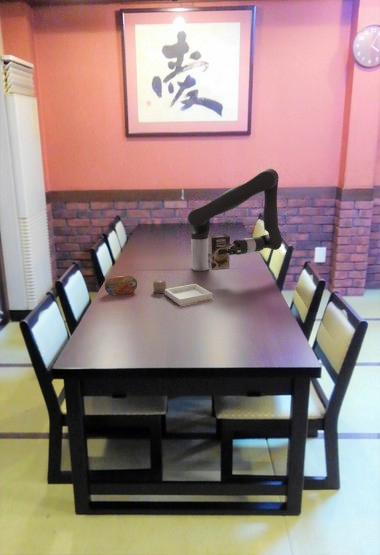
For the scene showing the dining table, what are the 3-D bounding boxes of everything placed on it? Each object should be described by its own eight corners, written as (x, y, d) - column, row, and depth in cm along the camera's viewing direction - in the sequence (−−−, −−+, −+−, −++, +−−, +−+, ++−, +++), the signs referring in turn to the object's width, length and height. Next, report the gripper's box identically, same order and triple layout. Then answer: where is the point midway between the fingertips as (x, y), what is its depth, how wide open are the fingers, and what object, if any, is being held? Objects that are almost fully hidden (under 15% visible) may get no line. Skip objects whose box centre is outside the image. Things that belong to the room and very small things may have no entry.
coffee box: (211, 270, 223) (211, 237, 218) (207, 267, 229) (207, 234, 224) (230, 269, 225) (230, 236, 220) (225, 265, 231) (225, 233, 226)
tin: (105, 296, 219) (104, 278, 217) (105, 294, 222) (103, 277, 219) (137, 292, 223) (136, 275, 220) (136, 290, 226) (135, 273, 223)
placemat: (165, 294, 218) (165, 293, 218) (193, 289, 224) (193, 288, 224) (181, 306, 203) (181, 305, 203) (212, 300, 209) (212, 299, 209)
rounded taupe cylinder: (151, 291, 223) (150, 281, 222) (162, 289, 226) (162, 279, 225) (157, 294, 218) (156, 284, 217) (168, 292, 221) (168, 281, 220)
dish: (164, 294, 217) (164, 289, 216) (195, 288, 224) (195, 283, 223) (179, 305, 203) (179, 299, 203) (211, 298, 210) (211, 293, 209)
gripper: (236, 235, 235) (207, 239, 228) (252, 241, 223) (222, 246, 216) (236, 250, 237) (207, 254, 230) (252, 257, 225) (222, 261, 218)
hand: (214, 250), depth 223 cm, fingers closed on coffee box, 7 cm apart
